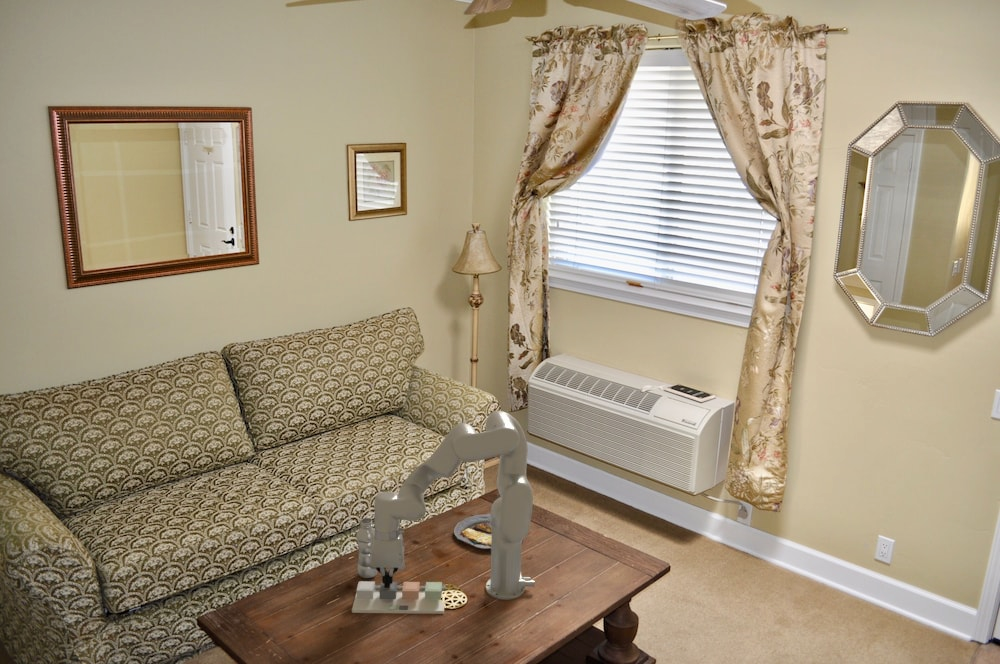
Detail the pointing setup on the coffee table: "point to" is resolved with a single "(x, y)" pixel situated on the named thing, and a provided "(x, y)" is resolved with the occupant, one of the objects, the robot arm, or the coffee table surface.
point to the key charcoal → (388, 591)
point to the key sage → (433, 591)
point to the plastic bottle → (365, 548)
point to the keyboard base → (398, 604)
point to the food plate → (475, 537)
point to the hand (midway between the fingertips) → (387, 585)
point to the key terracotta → (411, 590)
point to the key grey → (365, 589)
